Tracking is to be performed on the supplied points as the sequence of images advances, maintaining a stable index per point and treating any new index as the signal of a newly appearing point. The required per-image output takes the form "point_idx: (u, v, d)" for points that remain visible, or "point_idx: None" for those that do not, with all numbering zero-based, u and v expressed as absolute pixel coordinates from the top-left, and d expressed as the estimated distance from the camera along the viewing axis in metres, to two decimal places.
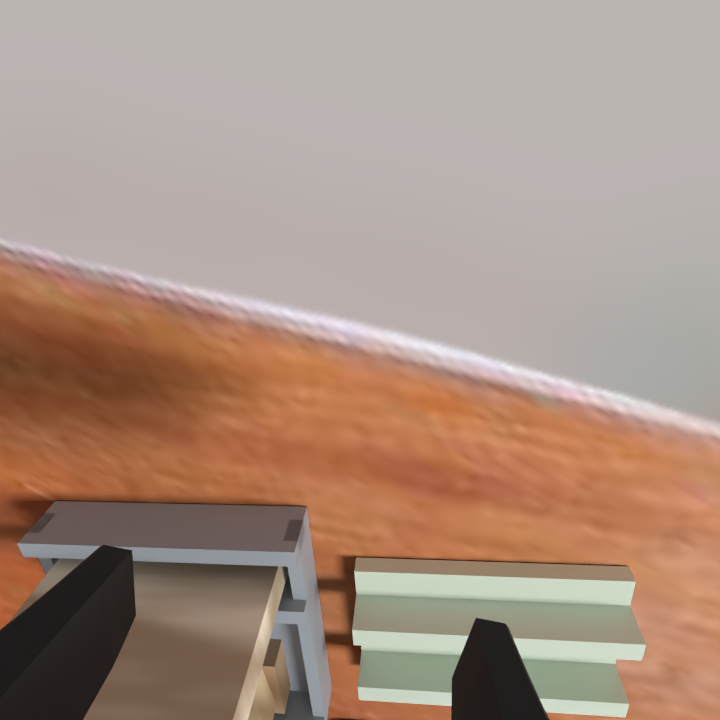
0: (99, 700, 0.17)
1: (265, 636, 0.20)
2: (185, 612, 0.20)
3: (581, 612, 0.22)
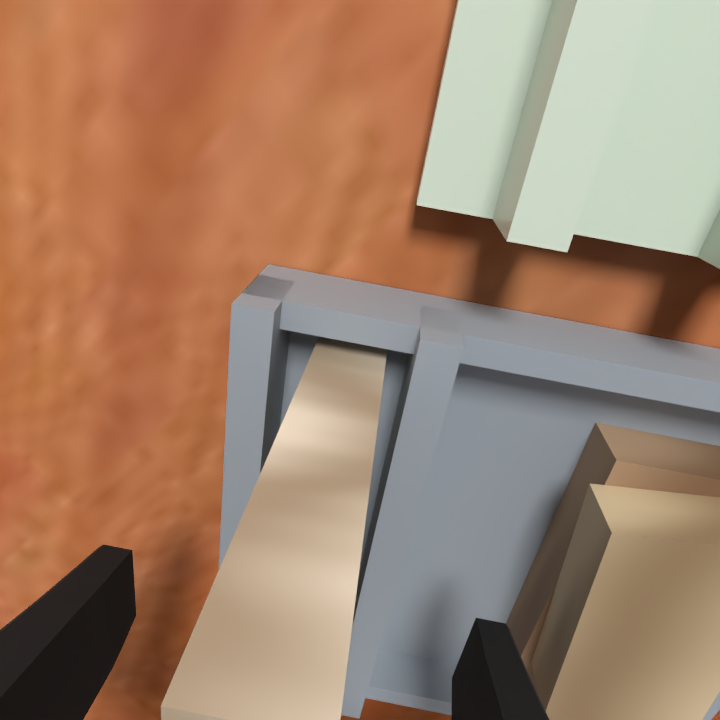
0: None
1: (337, 434, 0.08)
2: None
3: None
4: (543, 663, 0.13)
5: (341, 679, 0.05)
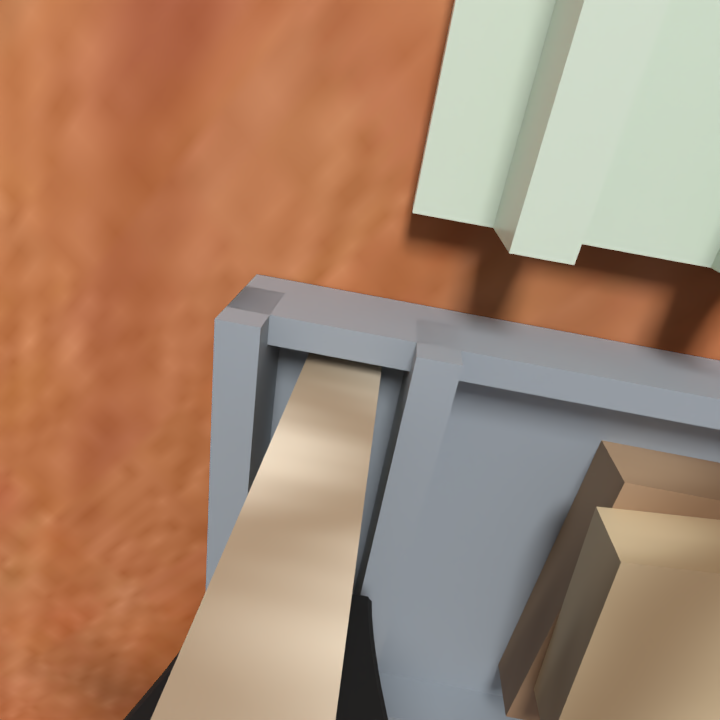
0: None
1: (326, 463, 0.07)
2: None
3: None
4: (546, 692, 0.12)
5: None
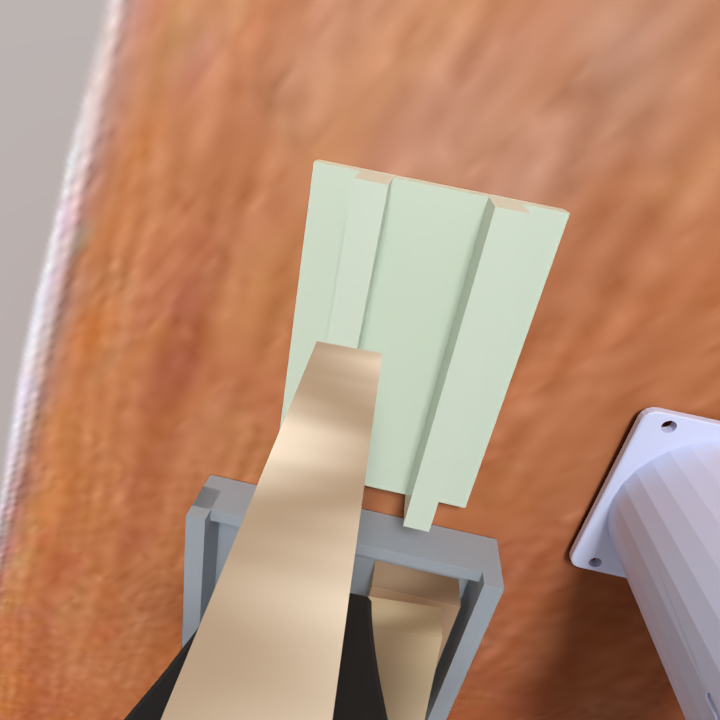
0: None
1: (331, 450, 0.08)
2: None
3: None
4: None
5: (331, 700, 0.05)
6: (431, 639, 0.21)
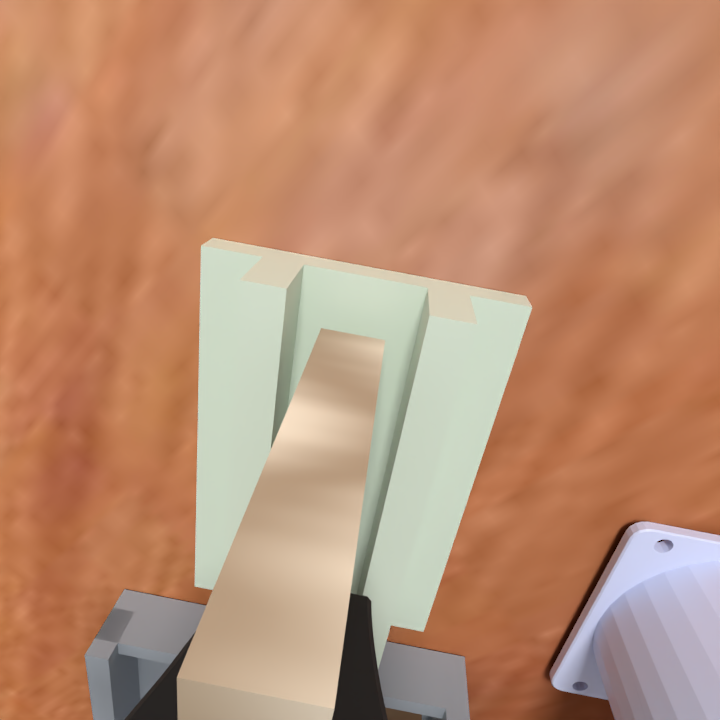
0: None
1: (336, 430, 0.09)
2: None
3: None
4: None
5: (338, 654, 0.05)
6: None
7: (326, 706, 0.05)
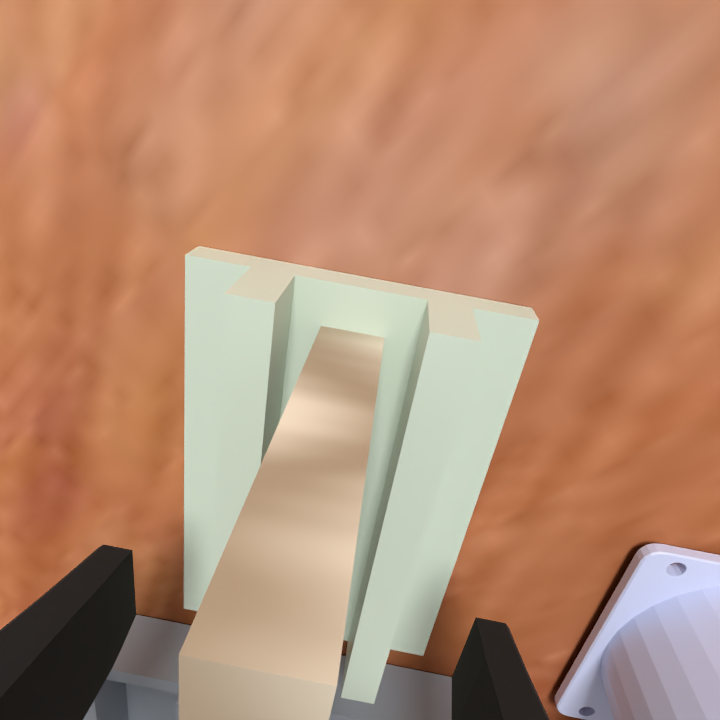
0: None
1: (336, 421, 0.09)
2: None
3: None
4: None
5: (340, 634, 0.05)
6: None
7: (328, 684, 0.05)
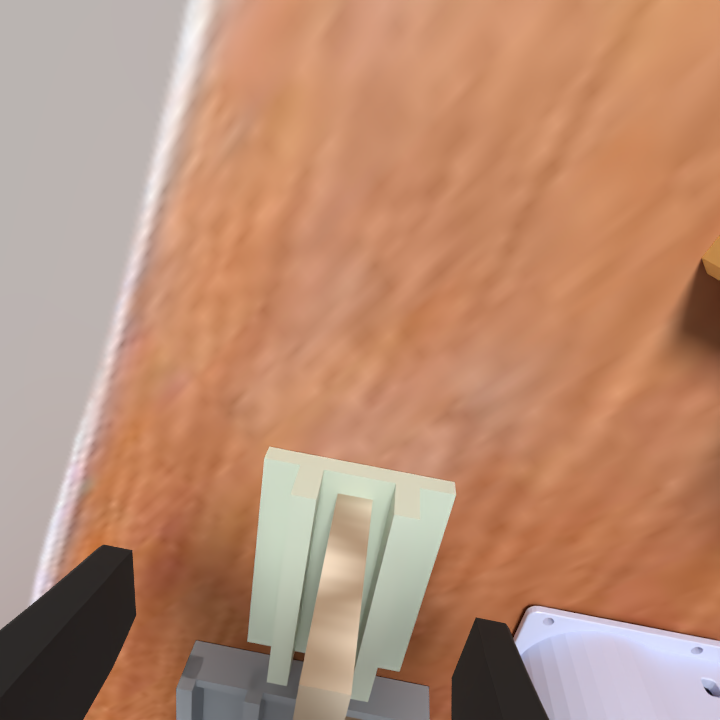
0: None
1: (348, 569, 0.18)
2: None
3: None
4: None
5: (352, 676, 0.15)
6: None
7: (348, 694, 0.14)
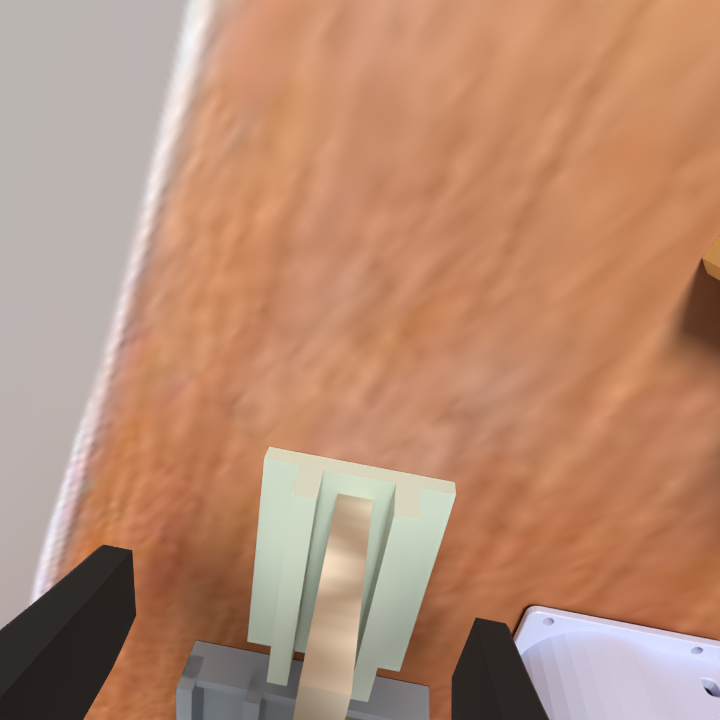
0: None
1: (348, 569, 0.18)
2: None
3: None
4: None
5: (352, 676, 0.15)
6: None
7: (348, 694, 0.14)
